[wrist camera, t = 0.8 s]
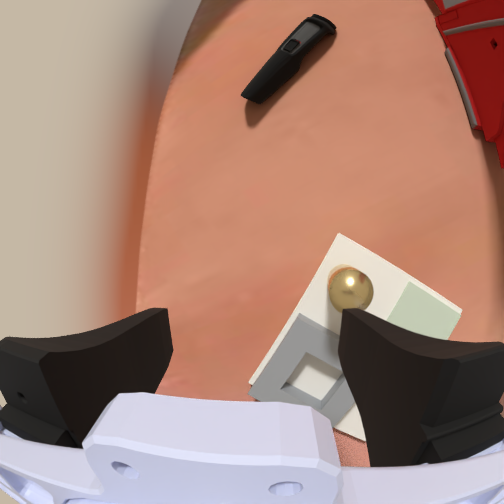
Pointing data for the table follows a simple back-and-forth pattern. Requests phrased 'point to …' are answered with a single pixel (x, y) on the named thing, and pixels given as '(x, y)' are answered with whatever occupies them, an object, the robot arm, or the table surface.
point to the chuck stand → (328, 332)
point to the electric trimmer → (287, 58)
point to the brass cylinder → (349, 288)
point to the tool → (477, 61)
